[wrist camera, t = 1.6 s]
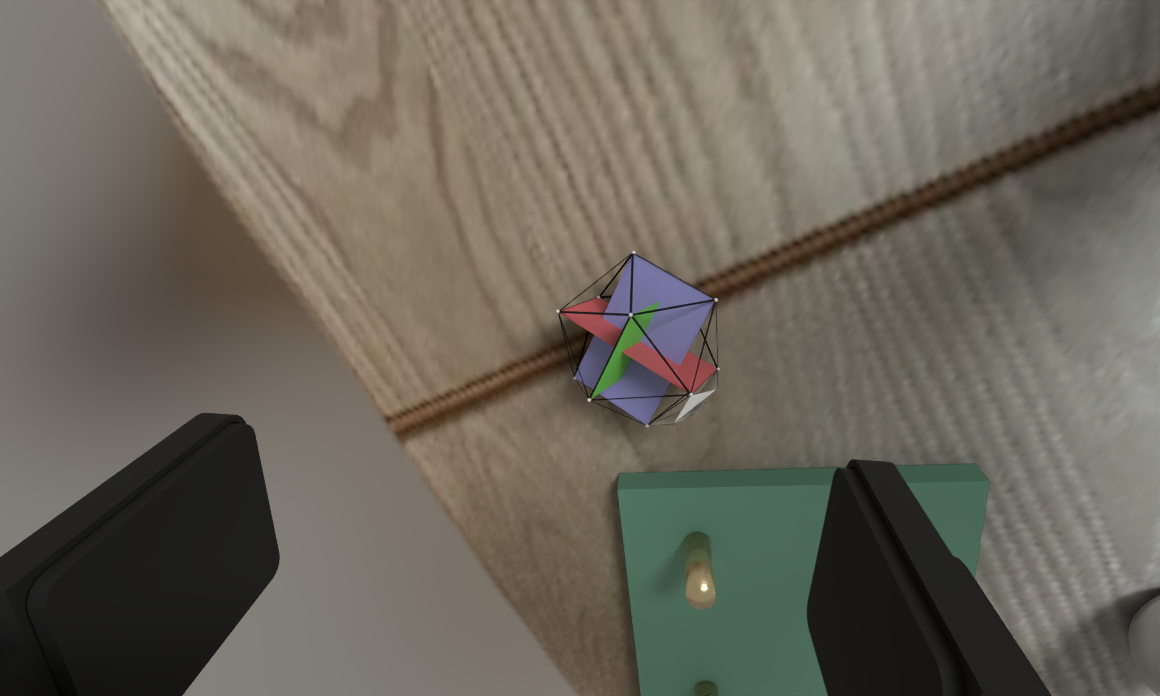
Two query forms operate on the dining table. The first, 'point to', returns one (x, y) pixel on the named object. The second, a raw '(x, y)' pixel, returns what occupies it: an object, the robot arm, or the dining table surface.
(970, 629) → the robot arm
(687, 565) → the brass standoffs
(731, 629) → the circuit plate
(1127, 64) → the dining table surface
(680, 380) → the geometric puzzle
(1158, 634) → the plastic bottle
